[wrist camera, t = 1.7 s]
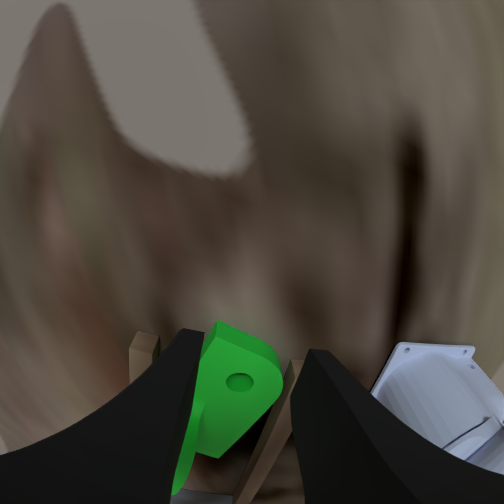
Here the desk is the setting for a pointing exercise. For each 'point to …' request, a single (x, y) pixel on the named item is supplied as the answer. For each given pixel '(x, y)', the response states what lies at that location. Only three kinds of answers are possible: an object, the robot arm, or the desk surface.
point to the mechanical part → (228, 394)
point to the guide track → (267, 446)
